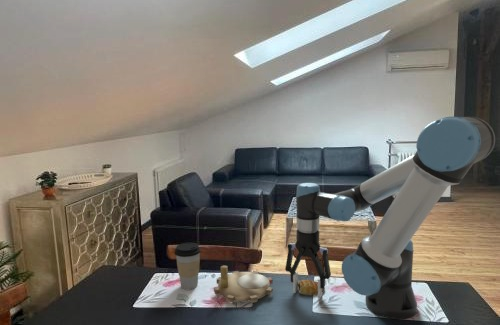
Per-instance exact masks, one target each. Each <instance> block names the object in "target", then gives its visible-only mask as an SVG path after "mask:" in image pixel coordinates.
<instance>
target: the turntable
mask: <svg viewBox="0 0 500 325" xmlns="http://www.w3.org/2000/svg"><path fill="white" fill-rule="evenodd" d="M228 272H229V271H228V265H221V266H220V276H219V277H217V278H216V284H217V285H218V286H215V287H213V292H214V295H215V296H216V295H221V296H222V297H223V298H225V299H226V302H228V303H230V304H231V303H234V302H250V303H251V304H253V303H257V302H258V300H259V299H262V298H263V297H265V296H266V295H268V296H272V294H273V293H274V288H273V287H271V285H273V284H274V280H273V277H271V276H269V277H266V276H265V275H262V274H261V273H260V272H259V271H257V270H253V271H239V270H236V271H235V270H234V271H232V272H231V273H229V274H228Z"/></svg>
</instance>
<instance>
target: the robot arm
mask: <svg viewBox="0 0 500 325" xmlns="http://www.w3.org/2000/svg"><path fill="white" fill-rule="evenodd" d="M495 144H496V136H495V132H494V130H493V128H492V126H491V125H490V124H489V123H488V122H487V121H485V120H484V119H481V118H479V117H476V116H445V117H441V118H439V119H436V120H434V121H432V122H431V123H429V124H428V125H426V126H425V127H423V129H422V131H421V132H420V133H419V135H418V137H417V140H416V145H415V146H416V151H415V153H414V154H412V155H410V156H409V157H407V158H405V159H403V160H401V161H400V162H398V163H395V164H394V165H392V166H390V167H389V168H386V169H385V170H383V171H381V172H379V173H378V174H375V175H374V176H372V177H370V178H369V179H367V180H365V181H363V182H362V183H360V184H357V185H356V186H354V187H352V188H350V189H347V190H342V191H339V192H336V193H328V192H323V191H321V189H320V185H319V184H318V183H314V182H302V183H299V184H298V185H297V186H296V195H295V198H296V200H295V201H296V222H295V223H296V224H295V225H296V234H295V235H296V241H295V242H294V243H293V242H292V241H291V242H289V243H288V244H287V251H288V252H287V256H286V262H285V268H284V270H285V271H286V272H289V273H290V282H291V283H293V284H292V293H293V294H296V293H297V291H299V290H298V281H299V276H298V275H299V272H298V271H297V269H298V266H299V264H300V262H301V260H302V258H306V257H307V258H311V260H312V262H313V264H314V267H315V269H316V271H317V274H318V276H319V278H318V279H317V282H318V294H317V299H321V297H322V296H323V292H322V289H324V287H325V286H326V280H330V277H331V276H332V274H331V267H330V260H329V252H330V251H329V248H328V247H321V244H320V217H324V218H327V219H331V220H333V221H336V222H338V221H339V222H349V221H350V220H351V219H352V218H353V216H354V215H355V213H357V212H359V211H364V210H366V209H368V208H369V207H371V206H373V205H375V204H376V203H378V202H380V201H382V200H385V199H387V198H389V197H391V196H393V195H396V196H395V197H394V199H393V201H392V202H391V204H390V205H389V207H388V209H387V210H386V212H385V214H384V215H383V216H382V218H381V220H380V221H379V222H378V225H377V226H376V228H375V229H374V231H373V232H372V234H371V235H367V236H364V237H363V238H362V239H361V240H360V242H359V244H358V246H357V247H356V249H355V250H354V252H353V253H350V254H348V255H347V256H346V257H345V258H344V259H343V261H342V262H341V273H342V275H343V279H344V281H345V282H346V284H347V285H348V287H349V288H350V289H352V291H353V292H355V293H356V294H358V295H361V296H365V305H366V306H367V308H368V309H369V310H370V311H371V312H373V313H375V314H377V315H380V316H382V317H384V318H388V319H397V320H398V319H399V320H400V319H401V320H402V319H403V320H404V319H409V318H412V317H414V316H416V315H417V309H418V304H417V299H416V296H415V293H414V290H413V286H412V283H413V282H412V280H413V264H414V263H413V261H414V260H413V259H414V243H413V241H412V239H413V237H414V236H415V234H416V233H417V231H418V230H419V228H420V227H421V225H422V224H423V223H424V222H425V220H426V219H427V217H428V216H429V214H430V213H431V212H432V210H433V209H434V207H435V206H436V204H437V203H438V202H439V200H440V199H441V198H442V196H443V195H444V193H445V192H446V190H448V189H447V188H448V187H450V186H454V185H459V184H460V183H461V182H462V180H463V179H464V178H465V176H466V175H467V173H468V172H469V170H470V169H471V168H472V167H473V165H474V164H476V163H478V162H481V161H483V160H484V159H486V158H487V157H488V156H489V155H490V154H491V153H492V152H493V151H494V148H495ZM295 249H297V252H298V254H297V256H296V258H295V260H294V262H292V261H293V257H294V253H295V252H294V251H295ZM319 252H320V254H321V256H322V257H321V258H322V263H323V266H322V263H321V261H320V258H319V254H318V253H319ZM292 263H293V264H292Z"/></svg>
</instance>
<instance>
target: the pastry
mask: <svg viewBox="0 0 500 325" xmlns="http://www.w3.org/2000/svg"><path fill="white" fill-rule="evenodd" d="M297 291H298V293H299V294H301V295H302V294H303V296H308V295H309V296H315V295H318V281H315V280H310V279H302V280H299V279H298V290H297ZM325 291H326V288H325V287H324V289H322V293H324V292H325Z"/></svg>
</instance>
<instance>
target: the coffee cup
mask: <svg viewBox="0 0 500 325" xmlns="http://www.w3.org/2000/svg"><path fill="white" fill-rule="evenodd" d="M201 252H202V249H201V247H200V246H199V244H198V243H196V242H183V243H180V244H178V245H177V246H175V249H174V251H173V253H174V255H175V256H176V266H177V272H178V276H179V282H180V287H181V289H183V290H188V291H190V290H194V289H196V288H197V287H198V284H199V273H200V272H199V271H200V262H201V261H200V260H201V258H200V253H201Z"/></svg>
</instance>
